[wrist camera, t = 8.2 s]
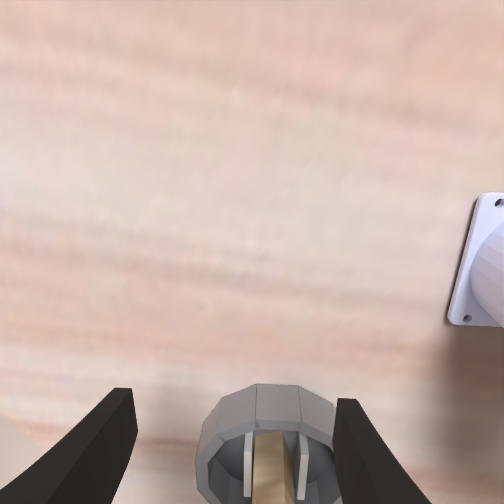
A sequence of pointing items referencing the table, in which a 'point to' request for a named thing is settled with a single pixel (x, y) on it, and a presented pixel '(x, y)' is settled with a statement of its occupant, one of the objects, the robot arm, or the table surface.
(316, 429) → the grey round bowl
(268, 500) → the wooden jenga block
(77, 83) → the table surface
